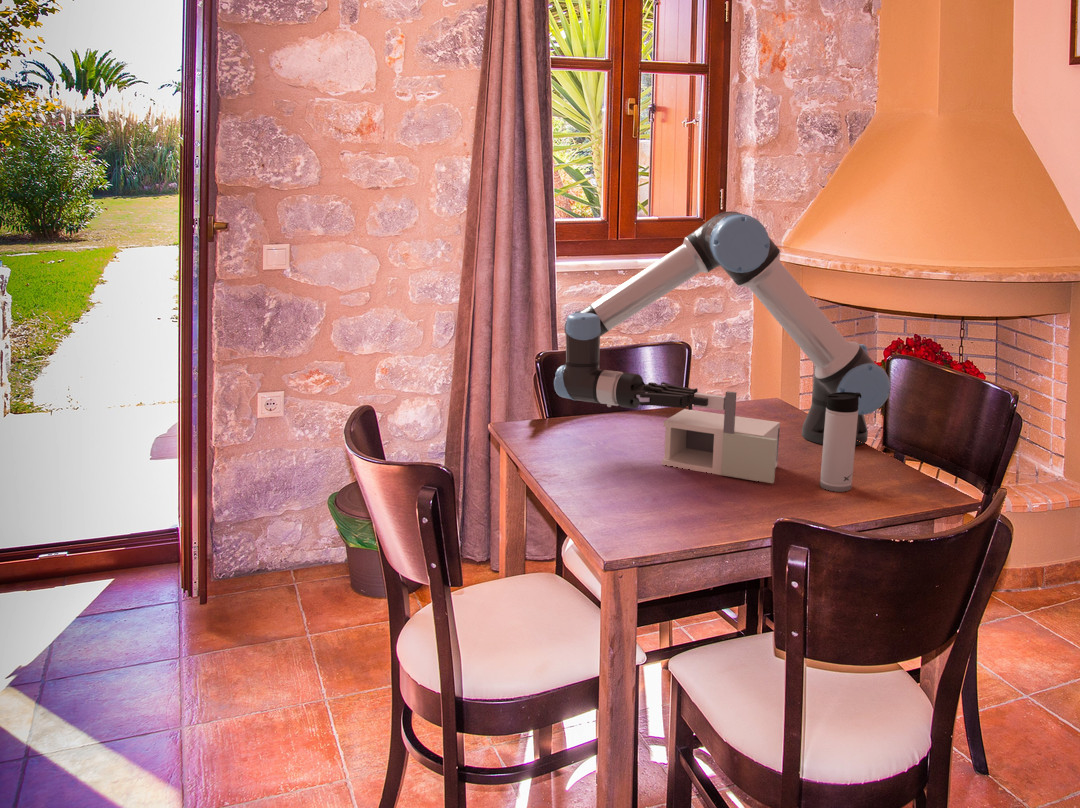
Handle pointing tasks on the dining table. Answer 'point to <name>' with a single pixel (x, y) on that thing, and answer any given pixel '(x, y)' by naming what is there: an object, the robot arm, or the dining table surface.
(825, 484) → the travel mug
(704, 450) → the cream case
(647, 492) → the dining table surface
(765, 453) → the side door
